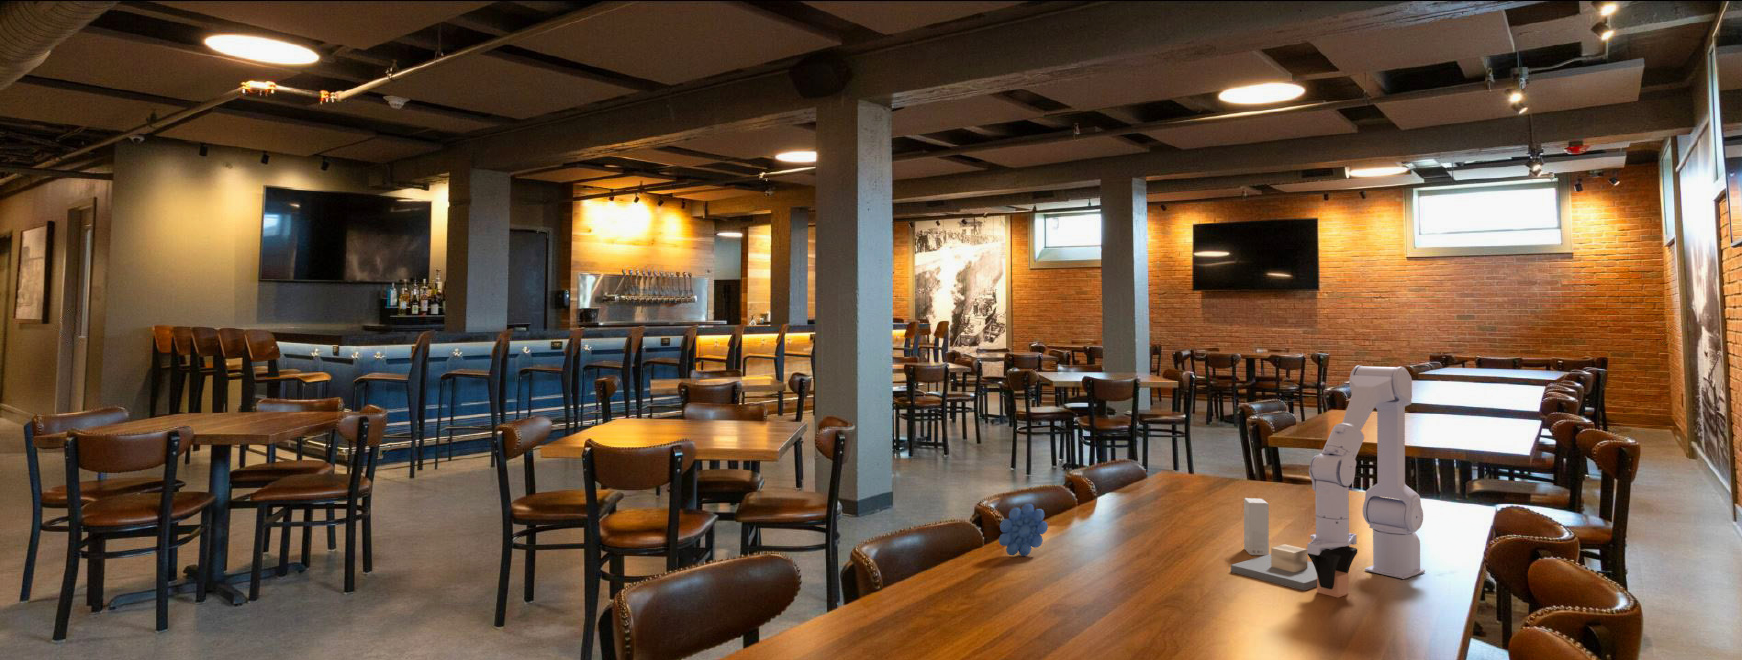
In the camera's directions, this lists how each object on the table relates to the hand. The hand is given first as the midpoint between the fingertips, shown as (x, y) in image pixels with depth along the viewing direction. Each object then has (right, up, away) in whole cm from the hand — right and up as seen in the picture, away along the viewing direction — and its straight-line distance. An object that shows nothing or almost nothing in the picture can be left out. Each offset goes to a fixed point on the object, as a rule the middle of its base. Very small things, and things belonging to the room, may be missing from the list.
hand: (1332, 585), depth 167 cm
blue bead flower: (-55, -2, +30) cm, 63 cm away
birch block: (-2, 0, +12) cm, 13 cm away
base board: (-3, -1, +13) cm, 13 cm away
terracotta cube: (0, -1, 0) cm, 1 cm away
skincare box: (-1, -2, +30) cm, 31 cm away
